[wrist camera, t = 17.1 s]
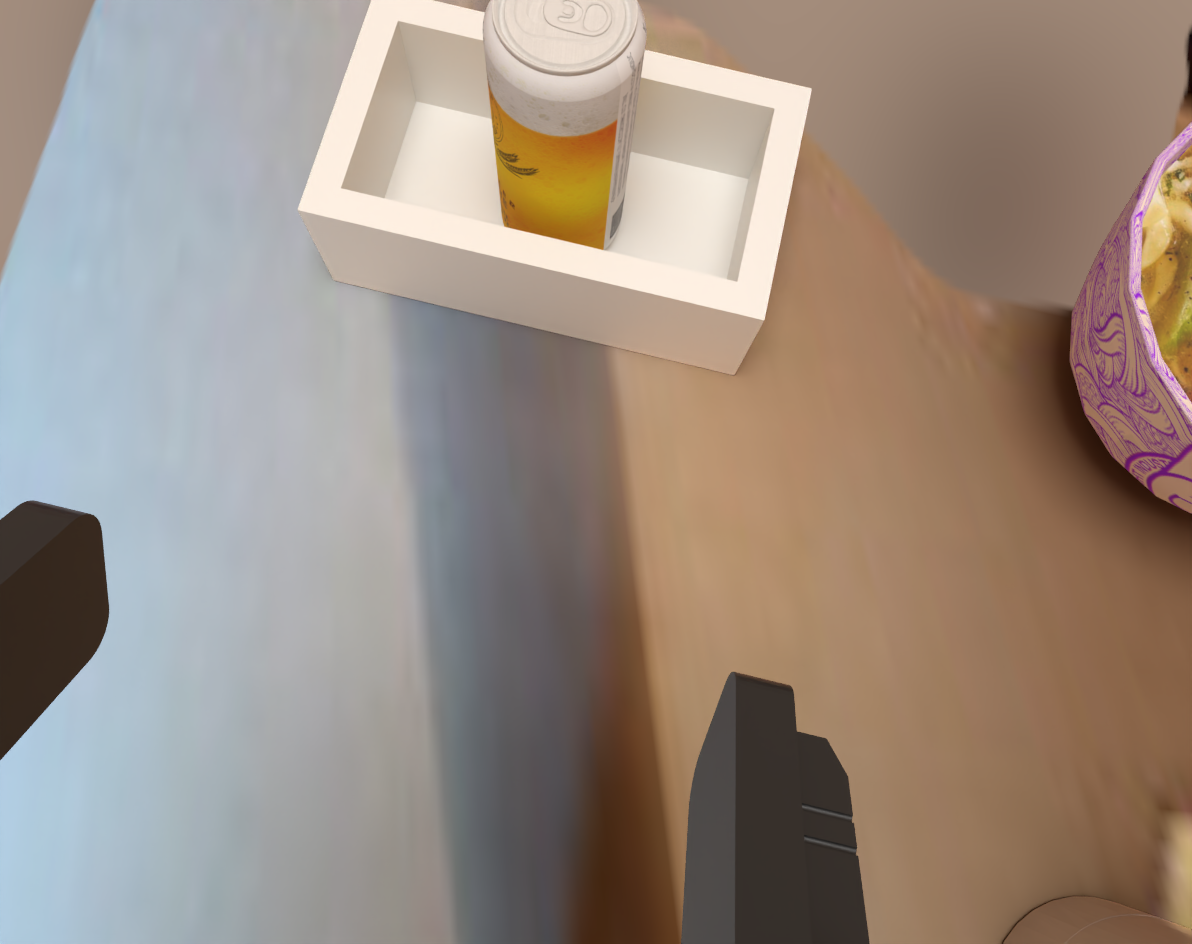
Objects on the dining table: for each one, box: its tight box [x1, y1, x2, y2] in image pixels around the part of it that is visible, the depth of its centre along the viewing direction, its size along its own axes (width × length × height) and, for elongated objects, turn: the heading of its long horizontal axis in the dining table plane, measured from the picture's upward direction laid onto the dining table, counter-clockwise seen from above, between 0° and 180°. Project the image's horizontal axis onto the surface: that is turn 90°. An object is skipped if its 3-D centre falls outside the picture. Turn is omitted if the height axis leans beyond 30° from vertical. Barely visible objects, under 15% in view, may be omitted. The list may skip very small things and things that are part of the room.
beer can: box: [483, 0, 646, 250], centre depth 41 cm, size 6×6×15 cm
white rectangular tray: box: [298, 0, 812, 375], centre depth 46 cm, size 21×12×7 cm, turn 77°
